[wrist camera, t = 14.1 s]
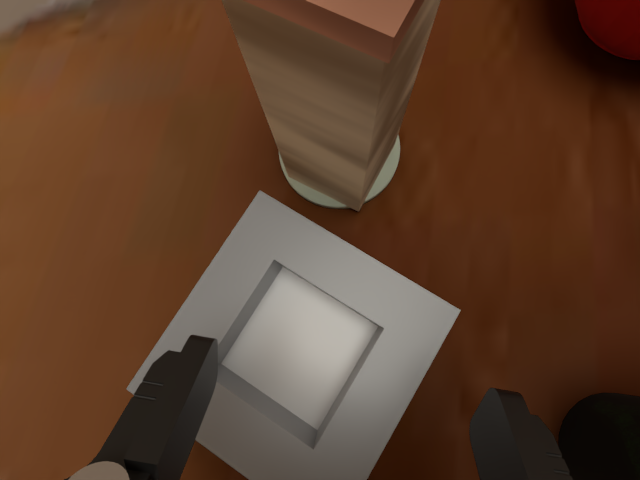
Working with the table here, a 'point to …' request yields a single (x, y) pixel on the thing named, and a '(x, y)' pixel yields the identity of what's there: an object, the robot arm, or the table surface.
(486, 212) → the table surface
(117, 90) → the table surface
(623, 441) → the cup
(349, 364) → the socket block
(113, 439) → the robot arm
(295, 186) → the pad
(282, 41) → the plug
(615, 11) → the ceramic cup
